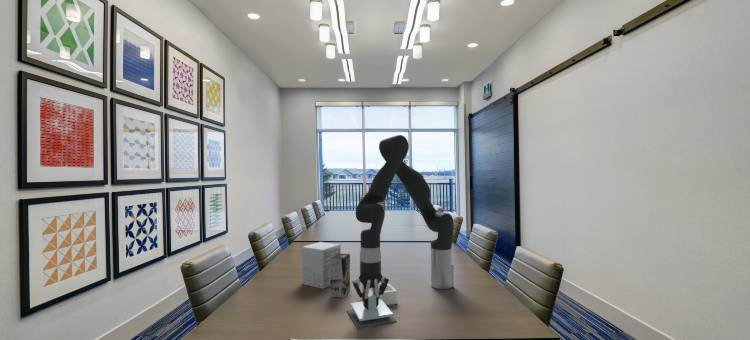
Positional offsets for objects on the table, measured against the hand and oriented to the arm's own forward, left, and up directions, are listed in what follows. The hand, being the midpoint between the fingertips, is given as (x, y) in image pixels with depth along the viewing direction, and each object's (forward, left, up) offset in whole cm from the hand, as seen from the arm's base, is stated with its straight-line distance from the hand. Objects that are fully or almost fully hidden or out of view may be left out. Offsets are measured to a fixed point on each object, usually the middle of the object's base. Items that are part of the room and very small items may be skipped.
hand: (370, 307), depth 118 cm
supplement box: (+10, -43, -4) cm, 44 cm away
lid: (0, 0, -1) cm, 1 cm away
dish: (-8, -13, -3) cm, 16 cm away
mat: (0, 0, -3) cm, 3 cm away
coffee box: (+5, -26, -4) cm, 27 cm away
